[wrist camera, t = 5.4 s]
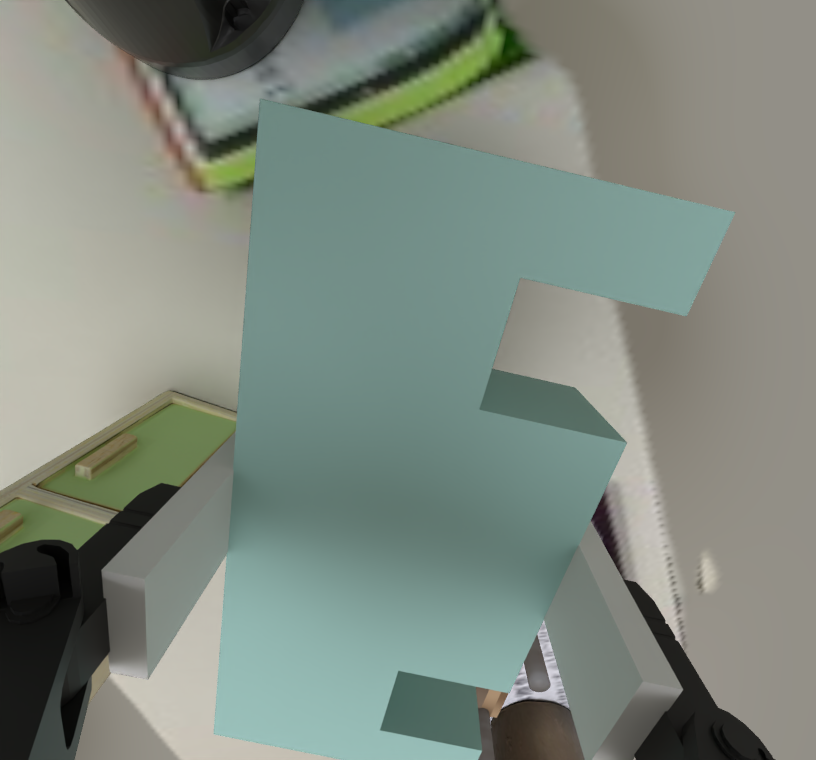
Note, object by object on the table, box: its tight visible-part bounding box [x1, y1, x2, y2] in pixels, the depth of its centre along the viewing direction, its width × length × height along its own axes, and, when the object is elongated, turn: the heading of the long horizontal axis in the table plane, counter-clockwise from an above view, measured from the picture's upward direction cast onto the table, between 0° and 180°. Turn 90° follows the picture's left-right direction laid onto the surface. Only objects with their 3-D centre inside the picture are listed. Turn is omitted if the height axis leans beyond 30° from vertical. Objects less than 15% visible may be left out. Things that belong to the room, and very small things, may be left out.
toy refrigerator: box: [0, 391, 237, 704], centre depth 23 cm, size 8×7×21 cm
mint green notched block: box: [214, 99, 735, 760], centre depth 12 cm, size 19×9×4 cm, turn 168°
